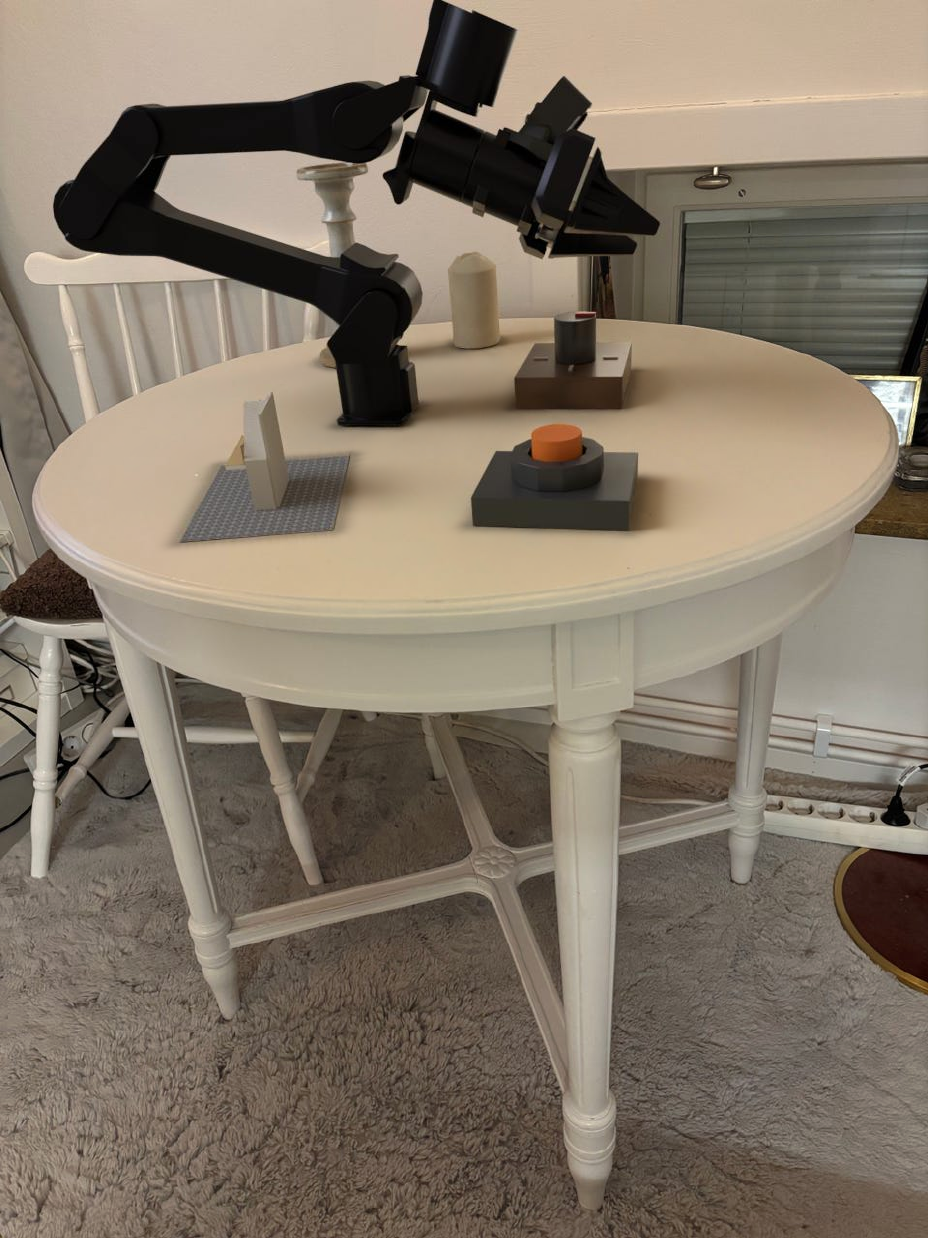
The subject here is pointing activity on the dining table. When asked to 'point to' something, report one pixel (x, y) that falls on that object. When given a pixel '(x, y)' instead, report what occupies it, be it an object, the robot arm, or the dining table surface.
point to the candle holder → (335, 210)
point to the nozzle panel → (574, 379)
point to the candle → (474, 301)
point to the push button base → (557, 490)
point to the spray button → (556, 443)
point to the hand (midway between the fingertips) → (645, 239)
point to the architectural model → (268, 486)
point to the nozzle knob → (575, 337)
